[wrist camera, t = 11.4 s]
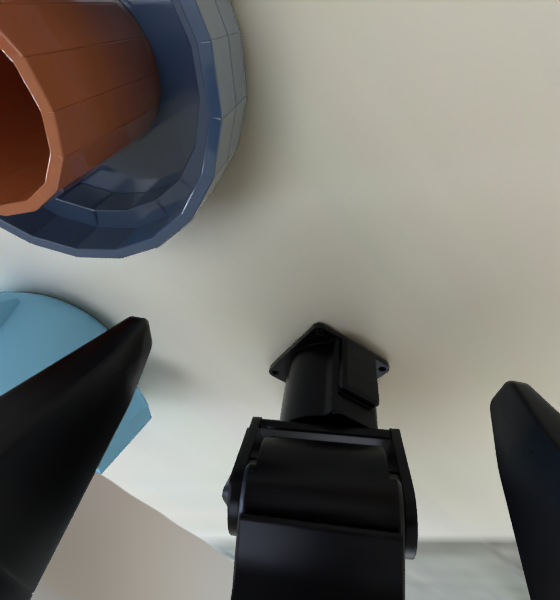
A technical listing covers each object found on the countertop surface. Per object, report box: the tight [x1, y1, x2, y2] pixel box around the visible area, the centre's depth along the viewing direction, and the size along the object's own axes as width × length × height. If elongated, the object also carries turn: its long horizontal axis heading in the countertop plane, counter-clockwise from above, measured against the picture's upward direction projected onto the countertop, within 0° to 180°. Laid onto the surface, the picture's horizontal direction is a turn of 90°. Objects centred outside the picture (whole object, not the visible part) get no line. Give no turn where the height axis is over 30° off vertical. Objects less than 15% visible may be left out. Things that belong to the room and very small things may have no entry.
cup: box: [0, 0, 160, 216], centre depth 13 cm, size 6×6×8 cm
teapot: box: [0, 292, 151, 474], centre depth 26 cm, size 15×15×11 cm
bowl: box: [0, 0, 247, 258], centre depth 15 cm, size 14×14×5 cm
